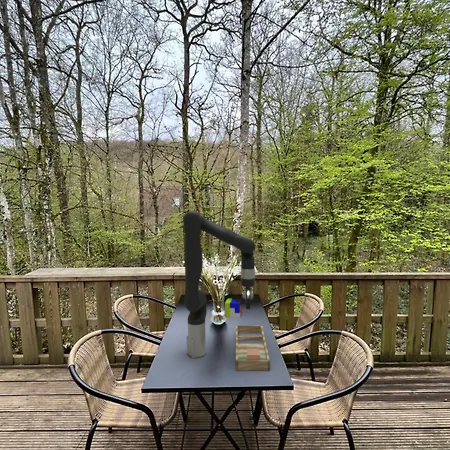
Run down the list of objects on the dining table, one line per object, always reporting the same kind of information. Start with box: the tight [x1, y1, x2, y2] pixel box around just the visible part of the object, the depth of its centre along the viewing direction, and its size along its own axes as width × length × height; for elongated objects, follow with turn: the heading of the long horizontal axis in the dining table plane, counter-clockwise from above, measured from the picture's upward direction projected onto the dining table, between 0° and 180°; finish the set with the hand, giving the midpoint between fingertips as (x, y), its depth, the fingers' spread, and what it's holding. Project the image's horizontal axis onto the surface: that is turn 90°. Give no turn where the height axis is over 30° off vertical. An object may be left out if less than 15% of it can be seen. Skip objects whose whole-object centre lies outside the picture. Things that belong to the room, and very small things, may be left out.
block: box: [247, 349, 260, 360], centre depth 143 cm, size 6×6×5 cm
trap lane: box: [235, 324, 271, 371], centre depth 159 cm, size 40×16×4 cm, turn 178°
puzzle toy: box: [224, 298, 243, 319], centre depth 207 cm, size 10×10×10 cm
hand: (248, 308), depth 156 cm, fingers closed
